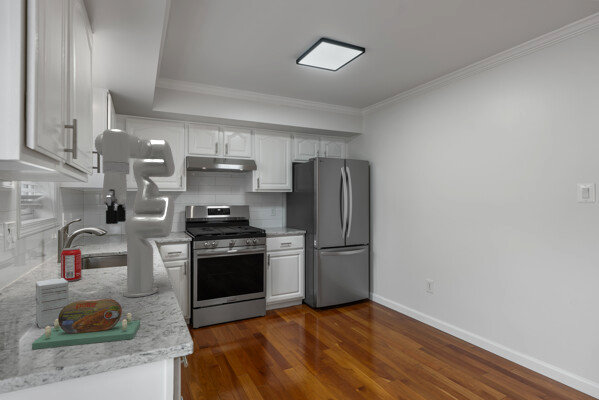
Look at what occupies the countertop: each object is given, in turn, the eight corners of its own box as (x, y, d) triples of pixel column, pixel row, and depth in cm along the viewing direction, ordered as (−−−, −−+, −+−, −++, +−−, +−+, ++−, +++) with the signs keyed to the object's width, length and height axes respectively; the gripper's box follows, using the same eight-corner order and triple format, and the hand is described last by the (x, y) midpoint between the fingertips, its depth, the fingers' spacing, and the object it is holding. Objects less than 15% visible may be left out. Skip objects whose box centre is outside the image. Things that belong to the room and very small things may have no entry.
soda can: (65, 283, 147) (65, 250, 147) (57, 281, 151) (57, 248, 151) (84, 279, 154) (84, 247, 154) (76, 277, 158) (76, 246, 158)
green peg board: (50, 333, 92) (50, 317, 92) (139, 325, 98) (139, 309, 98) (32, 349, 82) (32, 330, 82) (132, 338, 89) (132, 321, 89)
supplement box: (35, 322, 101) (35, 281, 101) (64, 316, 106) (64, 277, 106) (38, 329, 96) (38, 285, 96) (69, 322, 101) (68, 281, 101)
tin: (57, 335, 87) (57, 303, 87) (62, 330, 90) (62, 300, 90) (120, 329, 91) (120, 299, 91) (123, 325, 94) (123, 296, 94)
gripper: (110, 171, 112) (110, 221, 112) (93, 166, 95) (93, 225, 95) (134, 171, 114) (134, 220, 114) (122, 166, 97) (122, 224, 97)
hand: (116, 222), depth 105 cm, fingers open, 9 cm apart
